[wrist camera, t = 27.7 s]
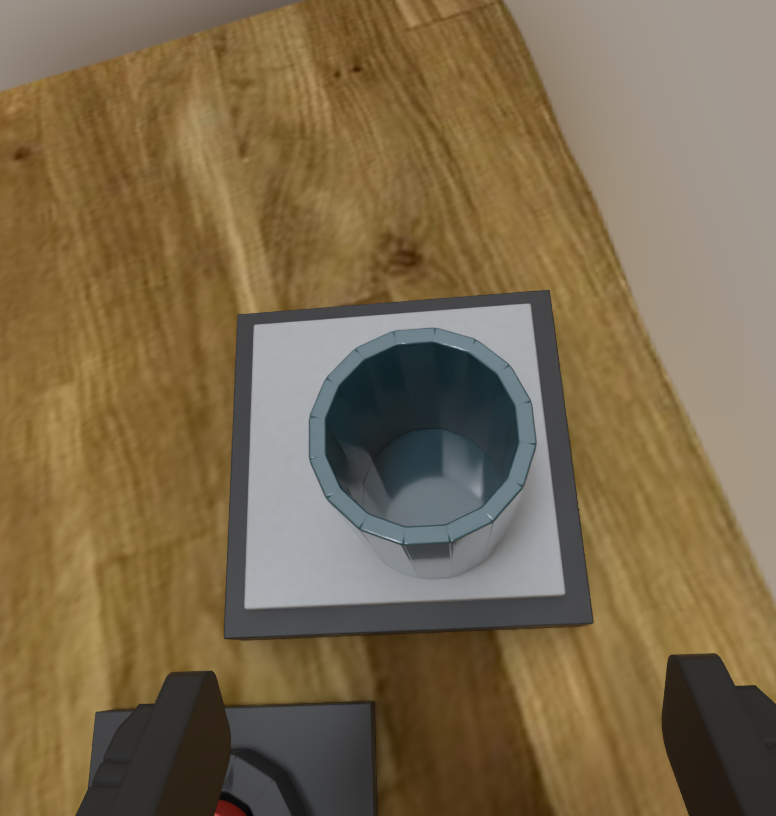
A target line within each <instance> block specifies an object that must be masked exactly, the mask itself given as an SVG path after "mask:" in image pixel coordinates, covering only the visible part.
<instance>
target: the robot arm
mask: <svg viewBox="0 0 776 816" xmlns="http://www.w3.org/2000/svg"><path fill="white" fill-rule="evenodd" d="M662 732H663V739H664V744H665V748H666V752H667V755H668V758H669V761H670V764H671V767H672V769H673V772H674V775H675V778H676V781H677V783H678V786H679V789H680V792H681V795H682V797H683V800H684V803H685V806H686V808H687V811H688V814H689V816H776V704H775V703H774V702H773V701H772V700H771V699H770V698H769V697H767V696H766V695H765V694H764V693H763V692H762V691H761V690H760V689H759V688H758V687H757V686H756V685H750V686H735V685H734V683H733V681H732V679H731V677H730V675H729V673H728V671H727V669H726V667H725V665H724V663H723V661H722V660H721V658H720V657H719V656H718V655H717V654H715V653H710V654H679V655H670V656H669V658H668V662H667V671H666V680H665V690H664V699H663V708H662ZM230 755H231V731H230V726H229V722H228V719H227V715H226V711H225V707H224V704H223V700H222V696H221V692H220V689H219V685H218V681H217V678H216V675H215V673H214V672H213V671H189V672H171V673H170V674H169V675H168V676H167V677H166V679H165V681H164V683H163V686H162V688H161V690H160V693H159V695H158V697H157V700H156V702H155V704H139V705H138V706H137V707H136V708H135V709H134V711H133V712H132V713H131V714H130V715H129V716H128V717H127V718H126V719H125V720H124V721H123V723H122V724H121V725H120V726H119V727H118V728H117V729H116V731H115V733H114V735H113V738H112V740H111V742H110V744H109V746H108V748H107V750H106V752H105V754H104V757H103V763H100V765H99V767H98V769H97V771H96V773H95V775H94V778H93V780H92V786H91V787H89V788H88V790H87V792H86V794H85V797H84V799H83V801H82V803H81V805H80V807H79V809H78V811H77V813H76V815H75V816H214V815H215V812H216V808H217V805H218V801H219V798H220V794H221V791H222V787H223V784H224V780H225V777H226V773H227V770H228V766H229V761H230Z"/></svg>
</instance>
